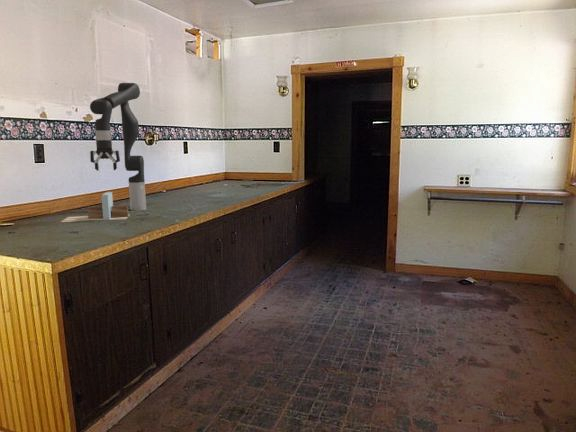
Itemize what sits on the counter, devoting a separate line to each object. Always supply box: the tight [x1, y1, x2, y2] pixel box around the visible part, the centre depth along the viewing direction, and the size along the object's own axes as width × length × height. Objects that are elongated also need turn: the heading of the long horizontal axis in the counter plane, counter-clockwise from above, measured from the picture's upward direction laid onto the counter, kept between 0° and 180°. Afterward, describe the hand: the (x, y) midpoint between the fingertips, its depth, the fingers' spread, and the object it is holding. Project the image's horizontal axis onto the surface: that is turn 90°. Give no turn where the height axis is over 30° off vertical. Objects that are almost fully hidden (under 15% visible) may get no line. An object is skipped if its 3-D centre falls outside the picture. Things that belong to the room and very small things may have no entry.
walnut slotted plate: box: [87, 205, 129, 219], centre depth 232 cm, size 2×20×6 cm, turn 103°
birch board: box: [60, 213, 131, 223], centre depth 232 cm, size 16×32×1 cm, turn 103°
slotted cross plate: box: [101, 191, 114, 221], centre depth 232 cm, size 14×3×13 cm, turn 13°
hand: (106, 170), depth 229 cm, fingers open, 8 cm apart
